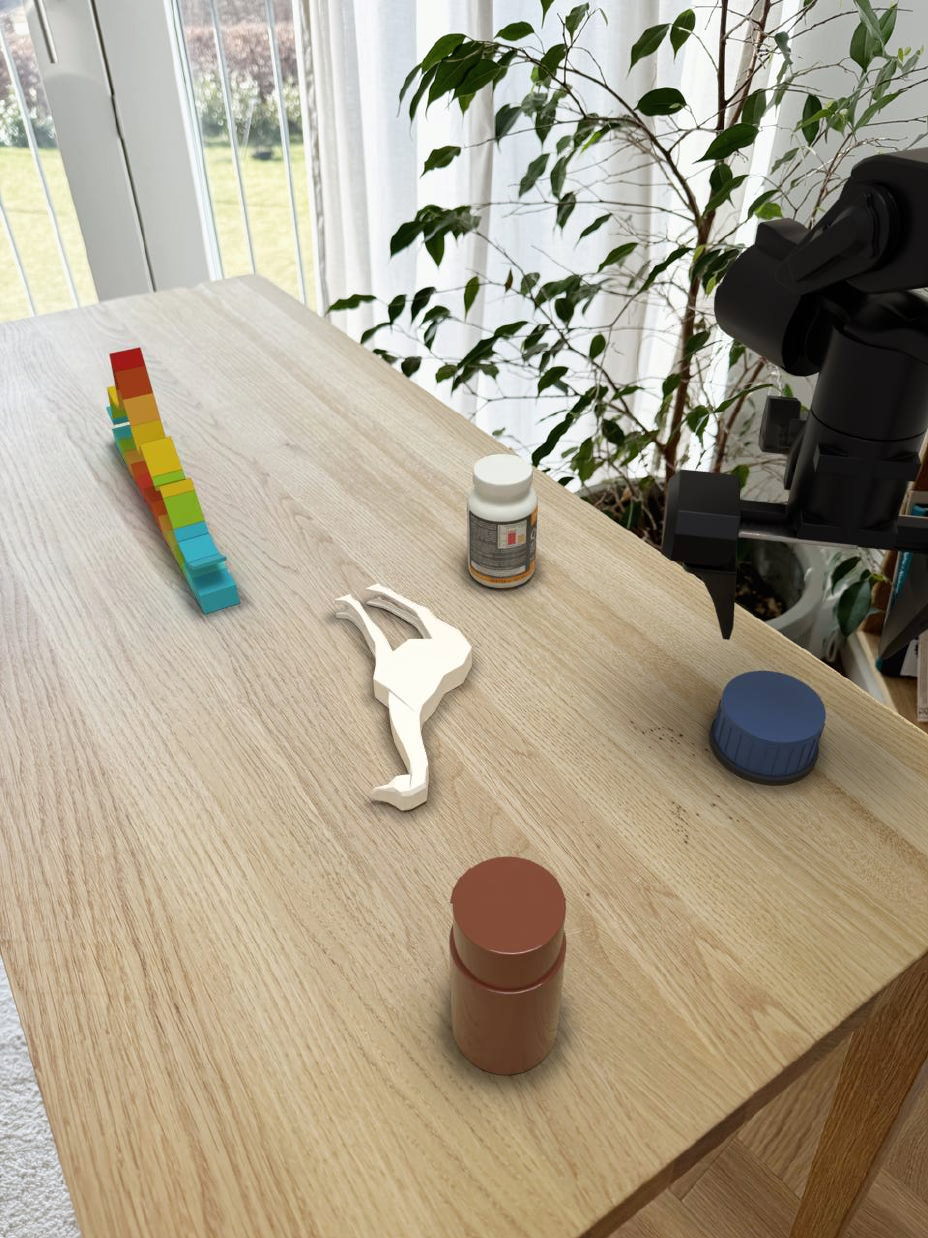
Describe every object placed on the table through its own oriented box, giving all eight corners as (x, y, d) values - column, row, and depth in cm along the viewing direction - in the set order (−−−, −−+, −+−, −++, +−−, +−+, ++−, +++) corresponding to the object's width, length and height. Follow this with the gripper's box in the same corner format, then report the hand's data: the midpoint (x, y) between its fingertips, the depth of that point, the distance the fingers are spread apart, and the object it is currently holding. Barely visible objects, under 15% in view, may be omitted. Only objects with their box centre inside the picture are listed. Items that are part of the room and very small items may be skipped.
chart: (243, 602, 79) (210, 438, 69) (204, 614, 78) (165, 449, 68) (148, 438, 99) (112, 294, 90) (116, 445, 98) (77, 301, 89)
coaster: (813, 715, 69) (815, 709, 68) (821, 793, 63) (823, 787, 63) (709, 701, 70) (710, 695, 69) (708, 776, 64) (709, 770, 64)
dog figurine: (252, 631, 73) (384, 806, 60) (401, 573, 79) (551, 722, 66) (256, 649, 74) (385, 825, 61) (402, 591, 80) (549, 741, 67)
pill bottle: (546, 581, 81) (552, 479, 74) (482, 598, 79) (483, 494, 73) (518, 544, 85) (522, 444, 78) (457, 559, 83) (455, 458, 77)
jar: (563, 984, 53) (577, 862, 46) (550, 1085, 49) (562, 969, 42) (463, 965, 54) (461, 844, 47) (441, 1063, 50) (436, 946, 43)
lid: (745, 689, 70) (753, 656, 68) (833, 736, 66) (844, 701, 64) (694, 741, 66) (701, 707, 64) (785, 793, 62) (796, 759, 60)
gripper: (1028, 360, 54) (942, 583, 64) (686, 334, 57) (655, 551, 67) (1084, 462, 45) (975, 700, 55) (680, 426, 48) (645, 658, 58)
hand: (802, 644), depth 59 cm, fingers open, 9 cm apart
